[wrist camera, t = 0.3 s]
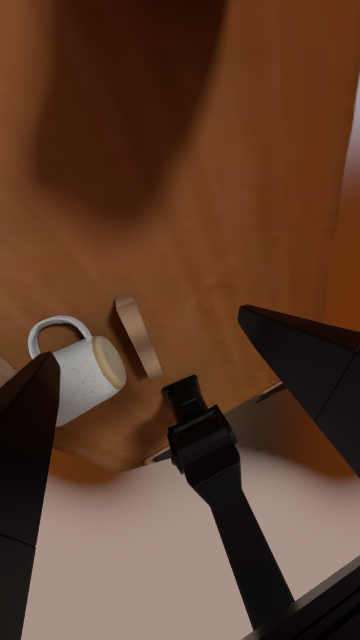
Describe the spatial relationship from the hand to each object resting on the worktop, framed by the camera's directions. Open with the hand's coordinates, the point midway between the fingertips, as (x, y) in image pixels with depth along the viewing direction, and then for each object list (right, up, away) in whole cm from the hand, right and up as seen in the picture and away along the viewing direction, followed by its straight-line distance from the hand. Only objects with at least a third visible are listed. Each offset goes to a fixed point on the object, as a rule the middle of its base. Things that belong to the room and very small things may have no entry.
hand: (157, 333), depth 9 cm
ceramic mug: (-12, -3, +15) cm, 19 cm away
